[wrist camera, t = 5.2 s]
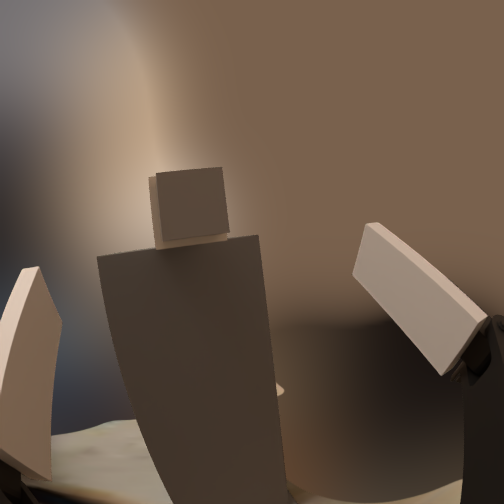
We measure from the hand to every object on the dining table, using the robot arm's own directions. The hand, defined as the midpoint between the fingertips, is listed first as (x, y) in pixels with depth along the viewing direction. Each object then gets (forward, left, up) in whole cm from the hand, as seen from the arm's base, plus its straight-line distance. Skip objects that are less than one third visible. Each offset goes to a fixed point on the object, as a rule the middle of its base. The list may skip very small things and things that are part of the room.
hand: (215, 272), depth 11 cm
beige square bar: (-1, +14, +1) cm, 14 cm away
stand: (-1, +16, -31) cm, 35 cm away
